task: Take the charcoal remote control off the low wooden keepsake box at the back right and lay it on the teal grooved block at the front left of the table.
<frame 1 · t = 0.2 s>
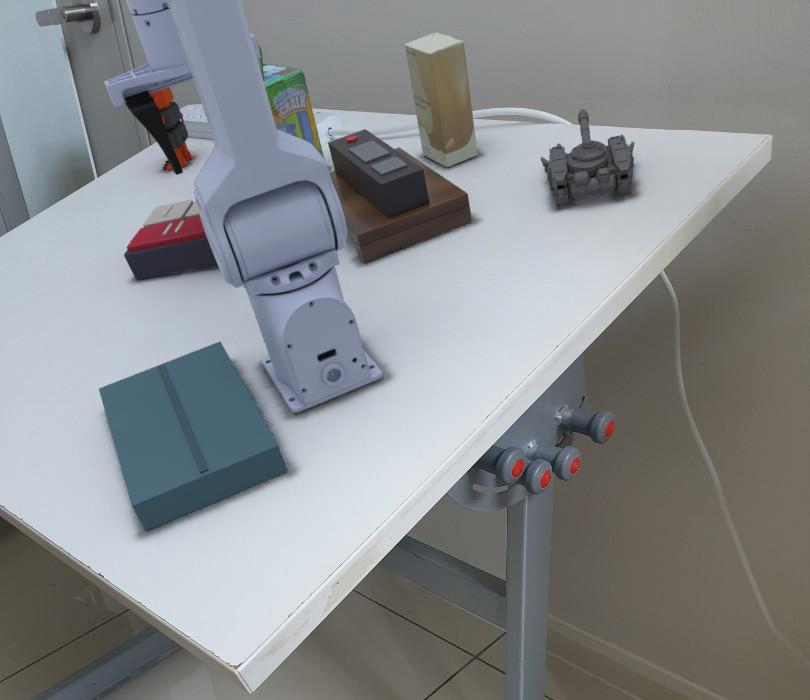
hand: (214, 158, 87), 10 cm above the table, tool pointing down, fingers open, 7 cm apart
calculator: (212, 249, 96), on the table
teal grooved block: (192, 439, 70), on the table
chalk box: (280, 180, 108), on the table
remote: (379, 187, 91), point 3 cm above the table, touching wooden keepsake box
cosmetic box: (451, 157, 102), on the table
wooden keepsake box: (385, 214, 93), on the table
tank toy: (589, 183, 89), on the table
toy animal: (174, 165, 120), on the table
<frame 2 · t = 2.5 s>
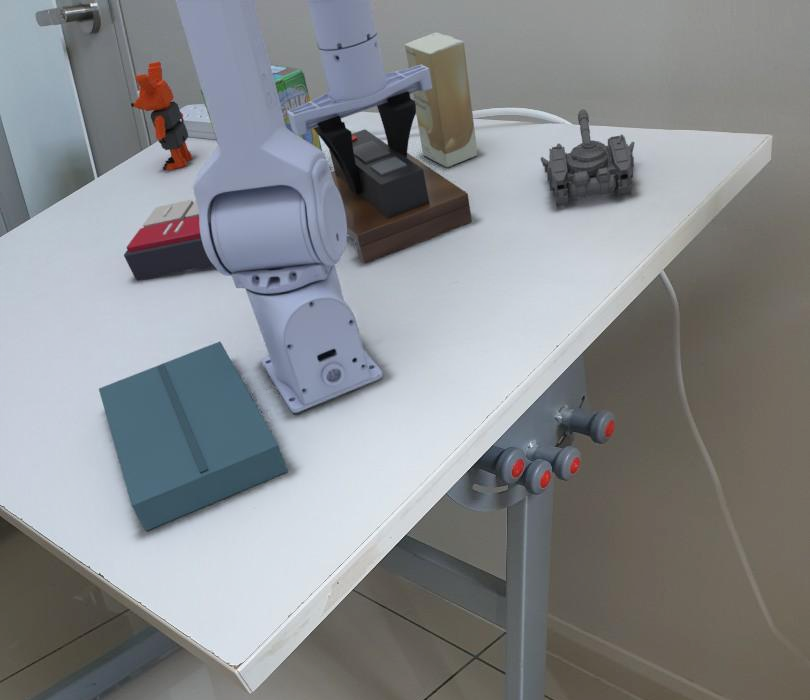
hand: (378, 182, 91), 4 cm above the table, tool pointing down, fingers closed on remote, 4 cm apart
remote: (379, 187, 91), point 3 cm above the table, touching gripper, wooden keepsake box
everything else where it was.
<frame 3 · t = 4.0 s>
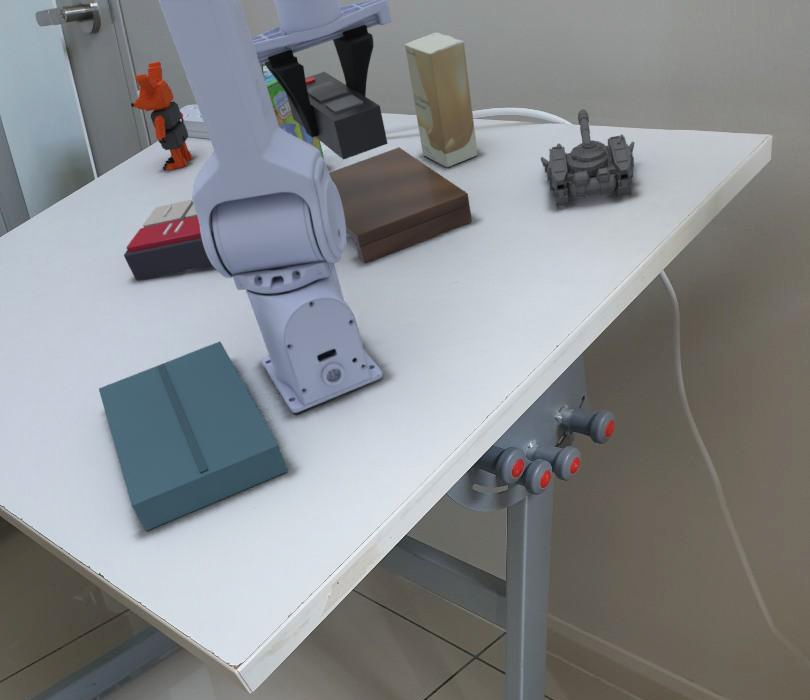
hand: (336, 125, 86), 10 cm above the table, tool pointing down, fingers closed on remote, 4 cm apart
remote: (337, 130, 86), point 10 cm above the table, touching gripper
everything else where it was.
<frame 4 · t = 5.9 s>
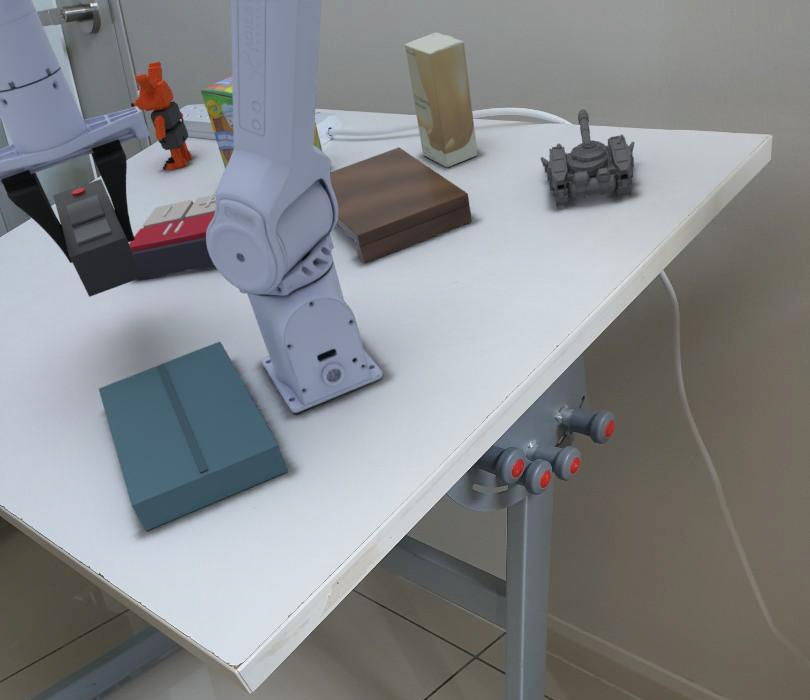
hand: (102, 247, 75), 10 cm above the table, tool pointing down, fingers closed on remote, 4 cm apart
remote: (104, 252, 75), point 10 cm above the table, touching gripper
everything else where it was.
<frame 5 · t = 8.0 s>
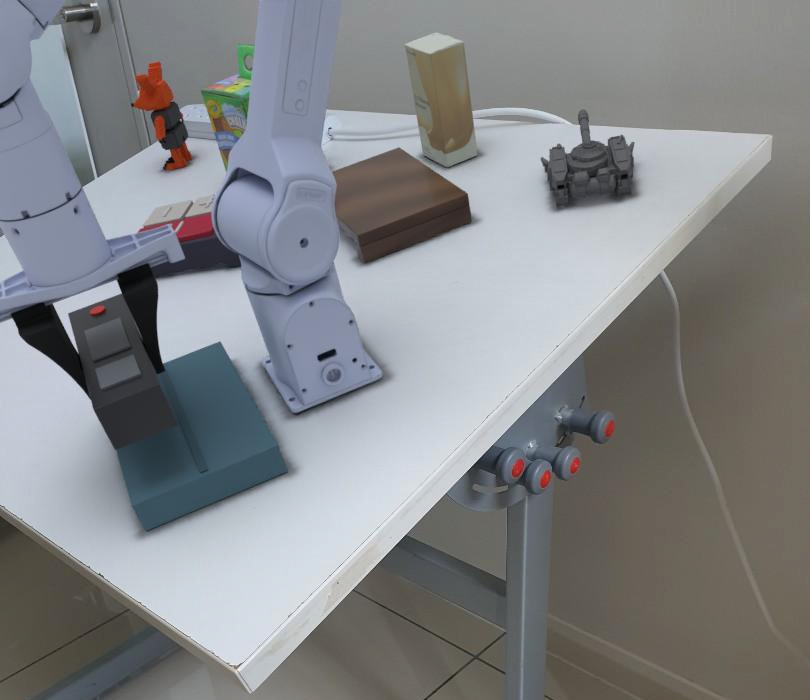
hand: (126, 379, 65), 7 cm above the table, tool pointing down, fingers closed on remote, 4 cm apart
remote: (128, 384, 65), point 6 cm above the table, touching gripper
everything else where it was.
when the fingers open (3 cm above the table, at t = 9.5 s): remote stays where it is, resting on teal grooved block.
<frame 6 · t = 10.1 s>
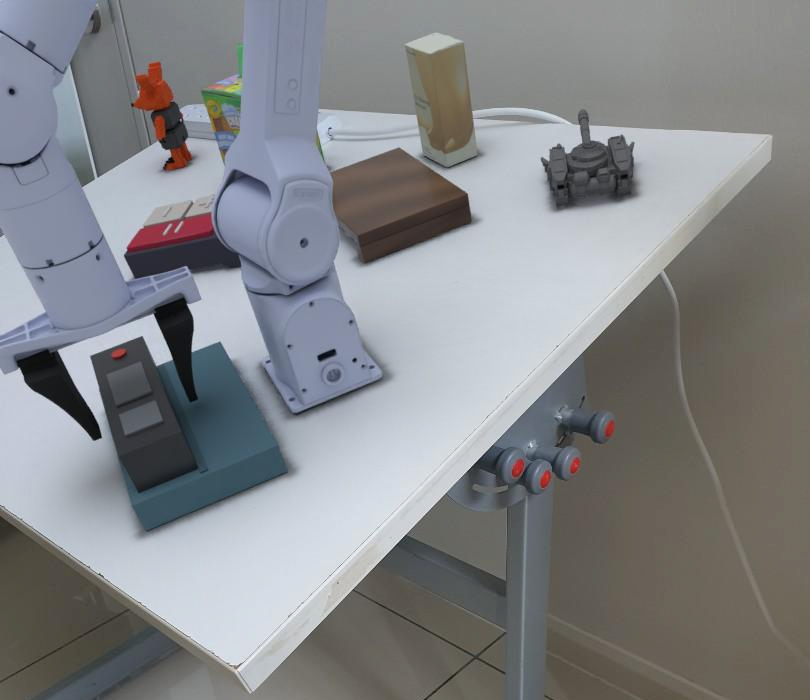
hand: (144, 414, 67), 4 cm above the table, tool pointing down, fingers open, 7 cm apart
remote: (149, 426, 68), point 2 cm above the table, touching teal grooved block
everything else where it was.
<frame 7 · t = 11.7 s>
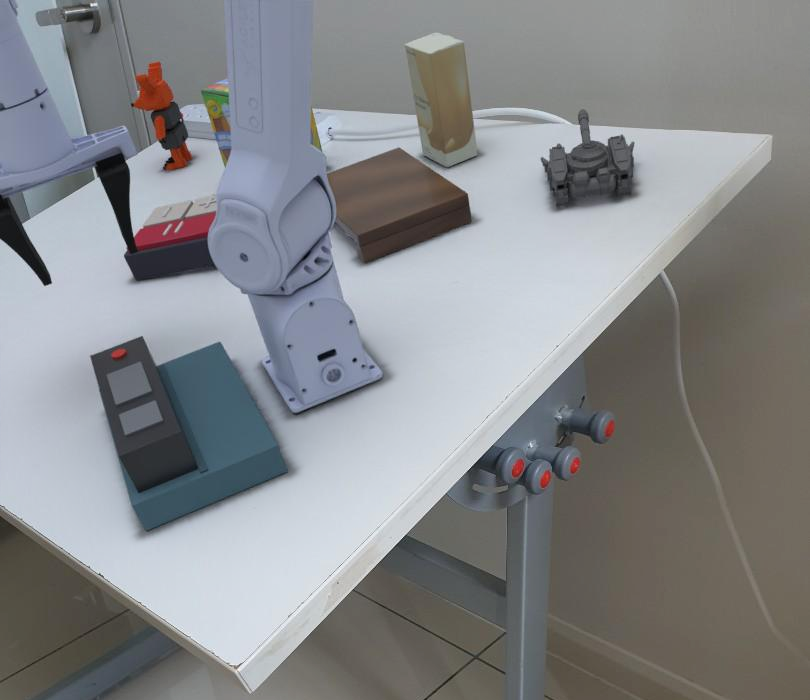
hand: (90, 265, 75), 9 cm above the table, tool pointing down, fingers open, 7 cm apart
nothing on the table moved.
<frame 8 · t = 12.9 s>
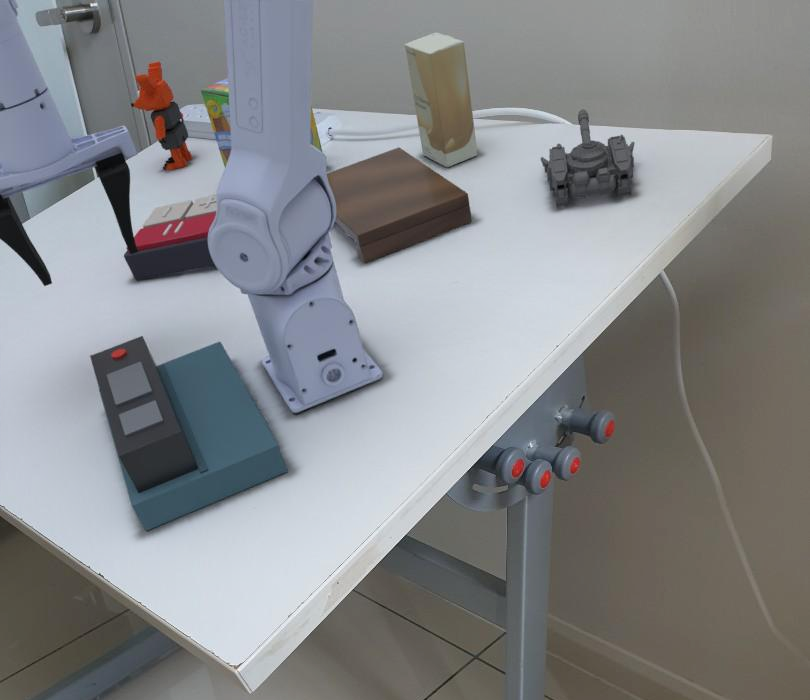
hand: (90, 265, 75), 9 cm above the table, tool pointing down, fingers open, 7 cm apart
nothing on the table moved.
at the end: remote inside the target area on the teal grooved block (1.6 cm from its centre), point 2.5 cm above the teal grooved block's base; remote tilted 0°; the gripper is holding nothing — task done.
